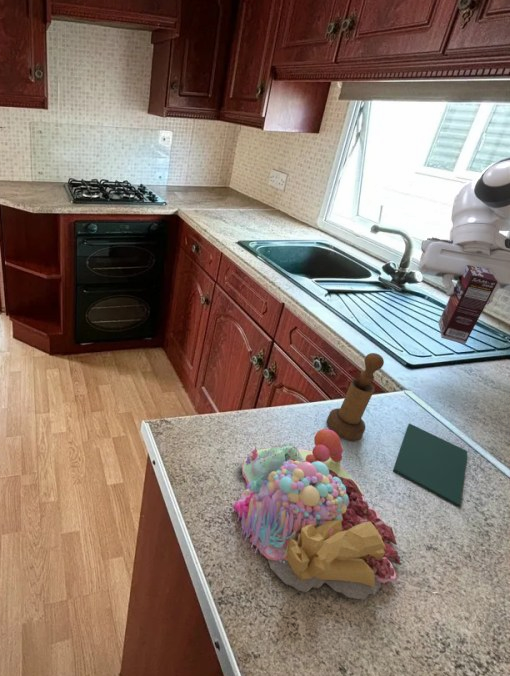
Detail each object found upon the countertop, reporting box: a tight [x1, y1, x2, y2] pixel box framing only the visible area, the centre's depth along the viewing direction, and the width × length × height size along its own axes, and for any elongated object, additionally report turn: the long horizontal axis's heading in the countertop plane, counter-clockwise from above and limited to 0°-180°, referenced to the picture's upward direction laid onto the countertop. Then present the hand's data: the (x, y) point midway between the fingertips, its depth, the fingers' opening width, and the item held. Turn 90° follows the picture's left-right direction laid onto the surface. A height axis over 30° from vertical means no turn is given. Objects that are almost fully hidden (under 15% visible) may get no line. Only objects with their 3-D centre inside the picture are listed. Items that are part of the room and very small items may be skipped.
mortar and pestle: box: [326, 352, 385, 442], centre depth 77 cm, size 7×6×18 cm
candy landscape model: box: [233, 428, 402, 601], centre depth 61 cm, size 25×24×9 cm
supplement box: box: [437, 265, 498, 345], centre depth 91 cm, size 9×5×16 cm, turn 150°
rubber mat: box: [392, 423, 468, 508], centre depth 75 cm, size 16×10×1 cm, turn 139°
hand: (469, 298), depth 89 cm, fingers closed on supplement box, 5 cm apart
